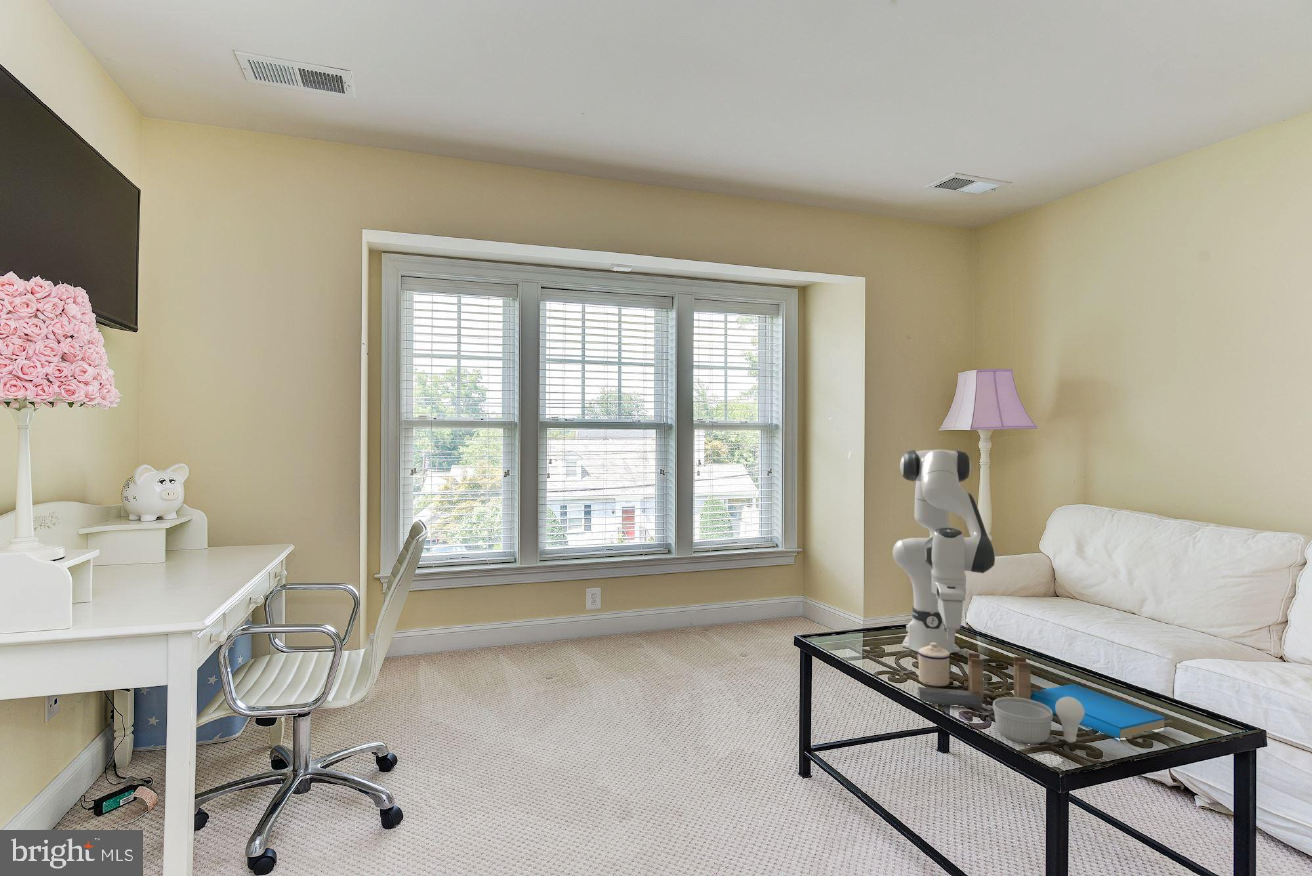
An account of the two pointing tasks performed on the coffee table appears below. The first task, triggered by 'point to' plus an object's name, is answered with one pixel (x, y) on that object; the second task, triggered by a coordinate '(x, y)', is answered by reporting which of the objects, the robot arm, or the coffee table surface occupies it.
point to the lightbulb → (1069, 716)
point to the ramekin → (1022, 719)
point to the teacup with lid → (933, 665)
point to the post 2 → (1022, 678)
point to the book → (1102, 711)
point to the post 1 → (975, 673)
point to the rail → (950, 697)
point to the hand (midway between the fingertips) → (948, 636)
